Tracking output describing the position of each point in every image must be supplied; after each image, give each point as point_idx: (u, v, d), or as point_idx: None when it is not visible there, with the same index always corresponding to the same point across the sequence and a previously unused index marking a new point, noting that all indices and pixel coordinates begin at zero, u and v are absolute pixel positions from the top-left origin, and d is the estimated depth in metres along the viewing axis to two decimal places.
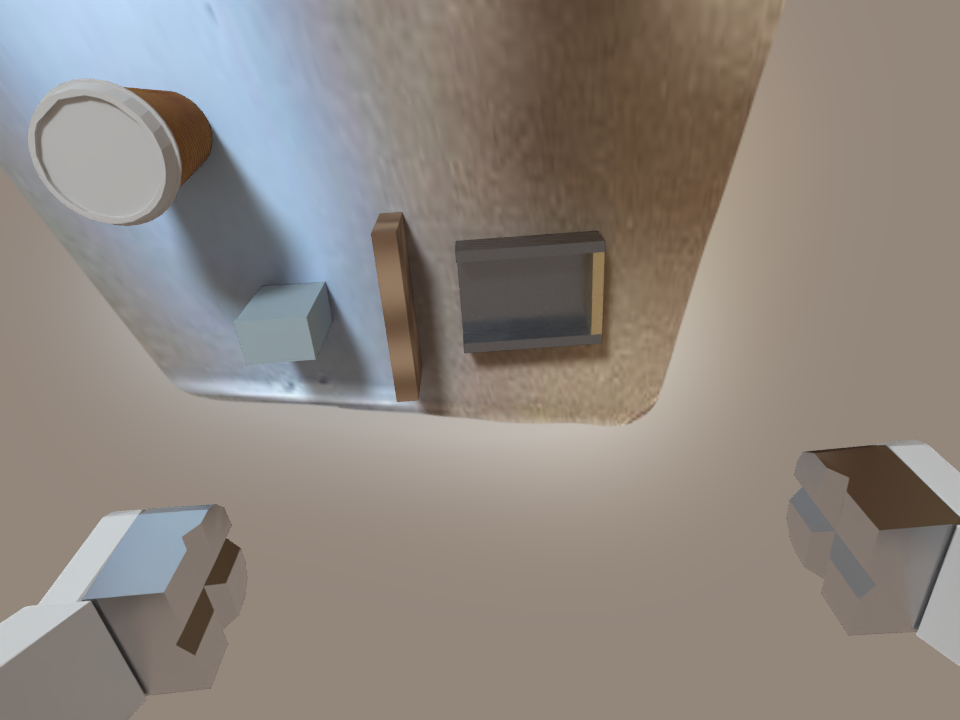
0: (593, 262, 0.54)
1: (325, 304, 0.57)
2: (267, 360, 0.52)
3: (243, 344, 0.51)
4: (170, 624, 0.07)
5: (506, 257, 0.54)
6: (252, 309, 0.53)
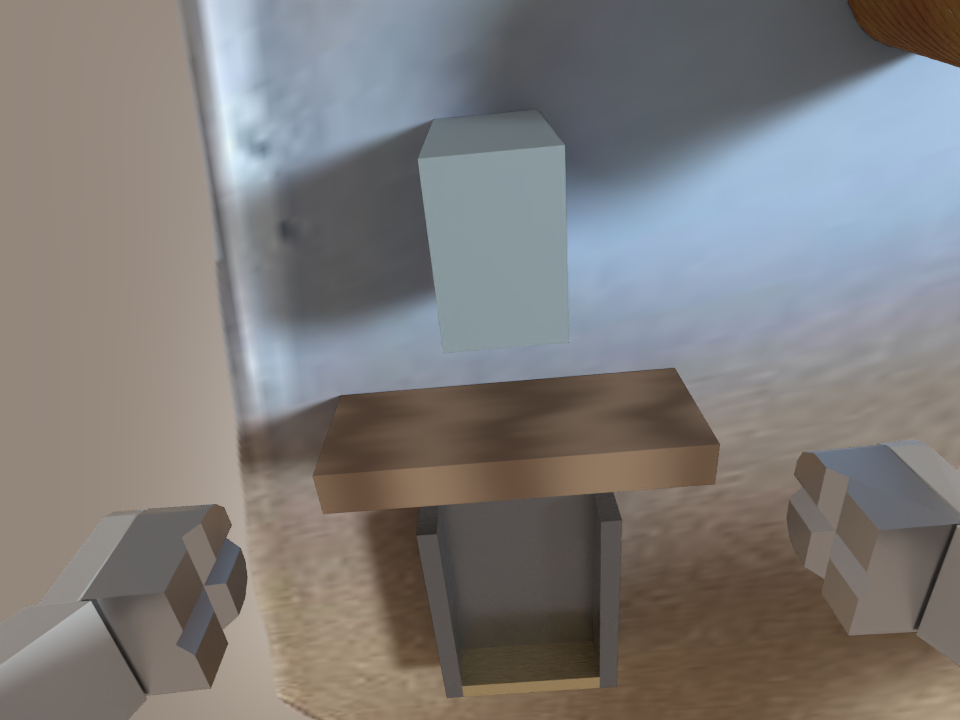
0: (583, 677, 0.36)
1: None
2: (435, 227, 0.18)
3: (489, 163, 0.17)
4: (171, 624, 0.07)
5: (603, 585, 0.32)
6: None
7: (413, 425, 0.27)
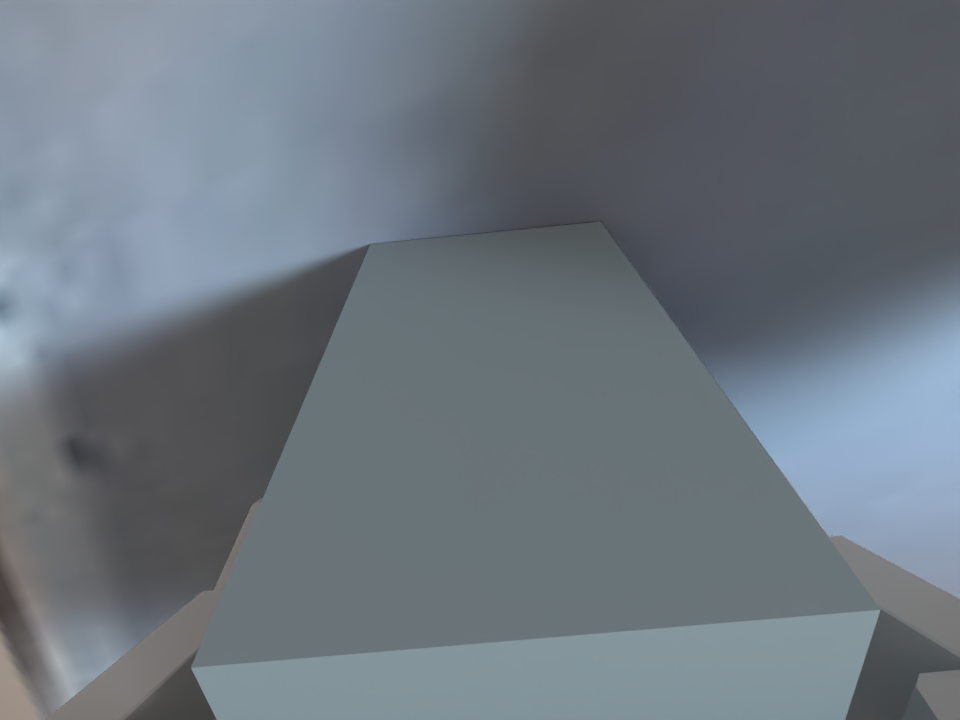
0: None
1: None
2: None
3: (522, 672, 0.04)
4: None
5: None
6: None
7: None
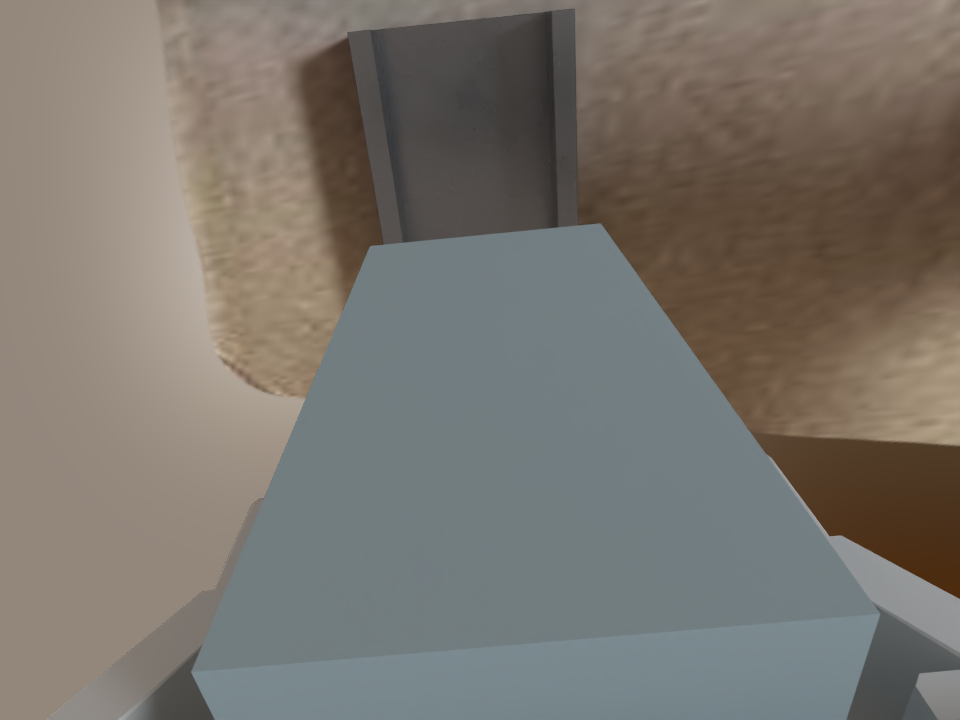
0: None
1: None
2: None
3: (522, 676, 0.04)
4: None
5: (558, 118, 0.29)
6: None
7: None
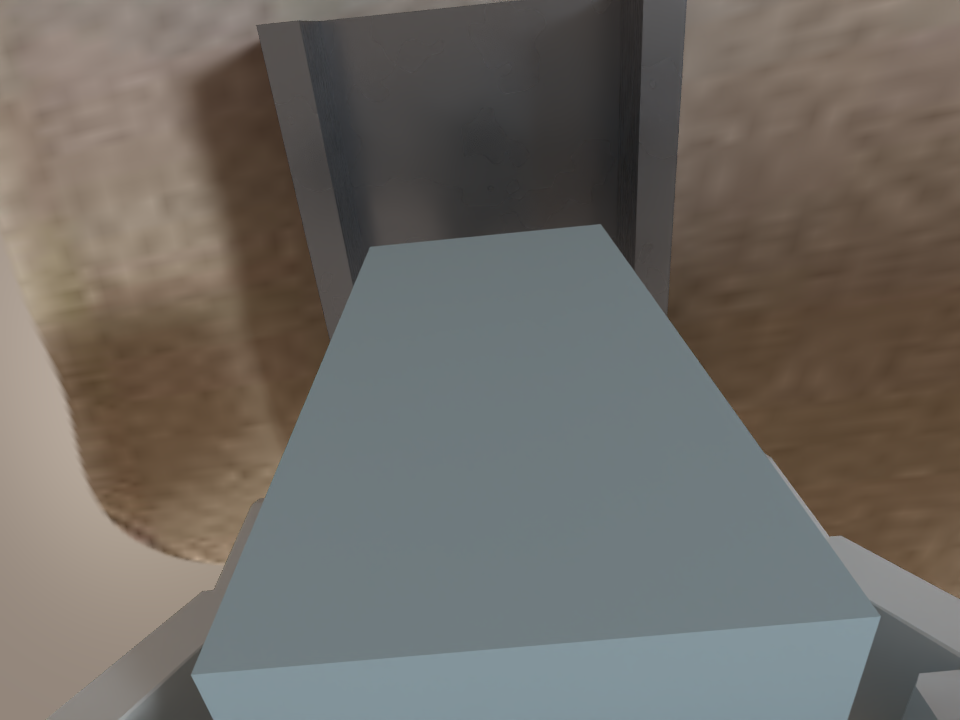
0: None
1: None
2: None
3: (522, 679, 0.04)
4: None
5: (643, 179, 0.16)
6: None
7: None
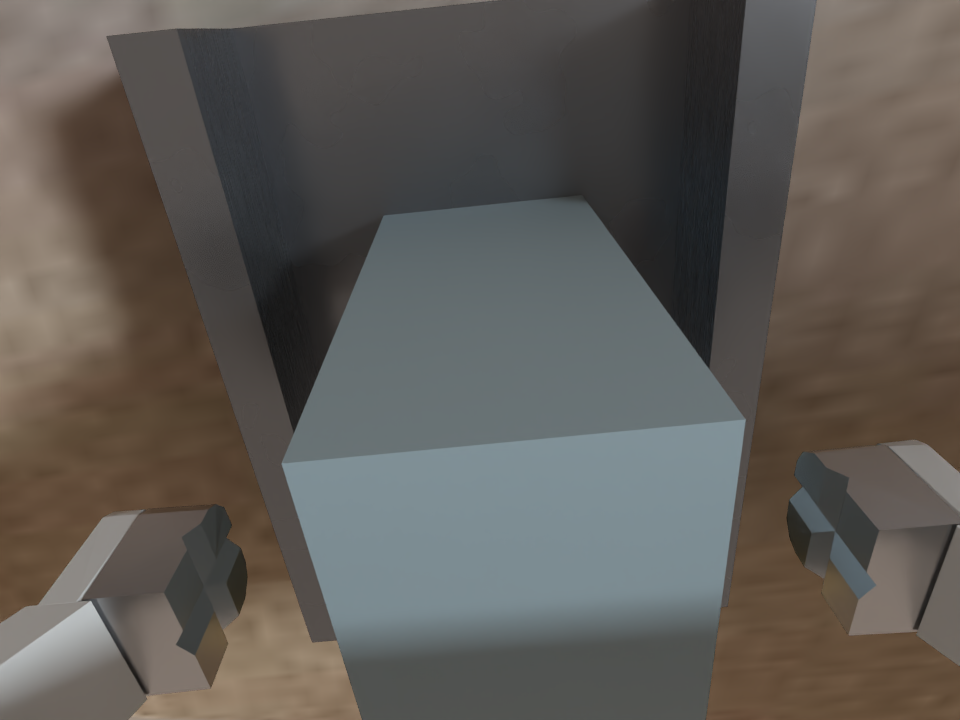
0: None
1: None
2: (353, 611, 0.06)
3: (505, 469, 0.05)
4: (170, 624, 0.07)
5: (728, 269, 0.11)
6: None
7: None
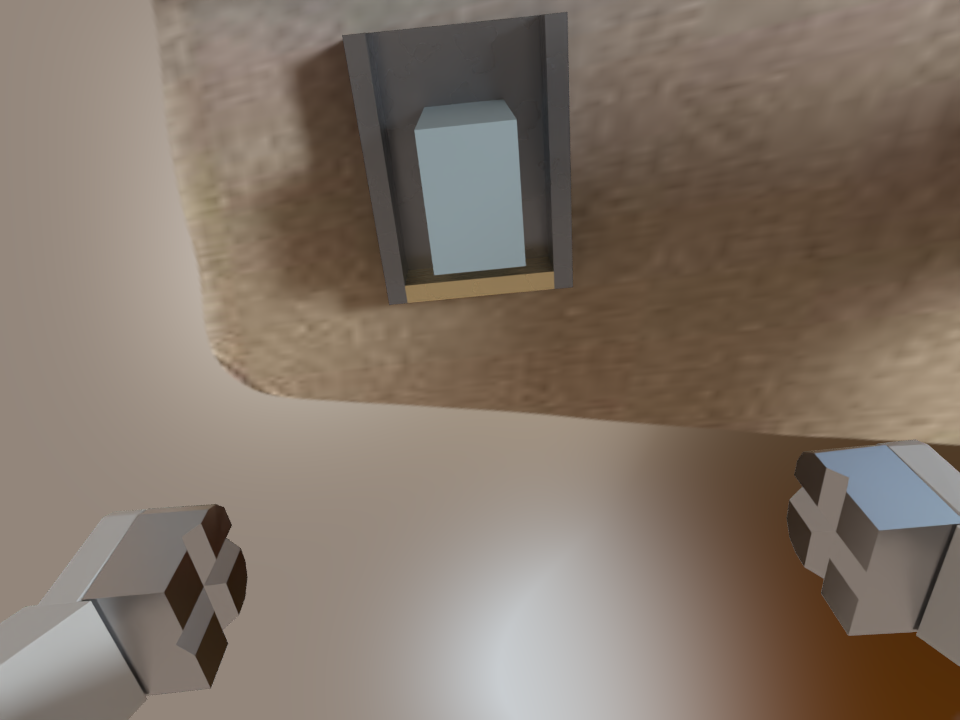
0: (536, 273, 0.33)
1: None
2: (427, 179, 0.25)
3: (464, 132, 0.24)
4: (170, 625, 0.07)
5: (551, 120, 0.29)
6: None
7: None
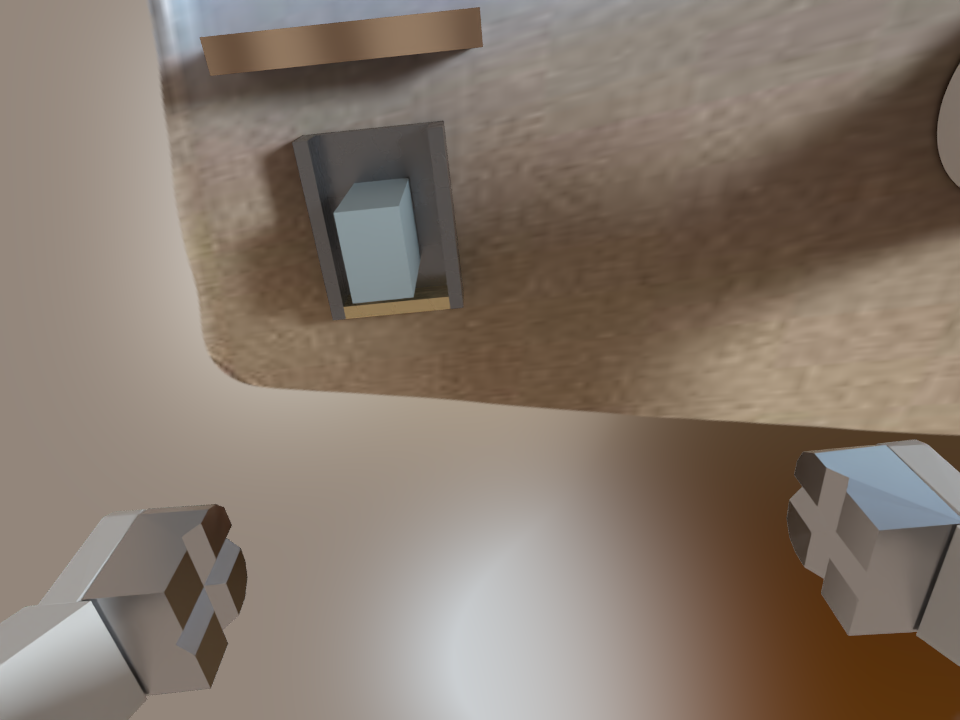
0: (436, 298, 0.46)
1: None
2: (344, 242, 0.38)
3: (365, 214, 0.37)
4: (171, 624, 0.07)
5: (437, 195, 0.42)
6: (404, 208, 0.40)
7: None
